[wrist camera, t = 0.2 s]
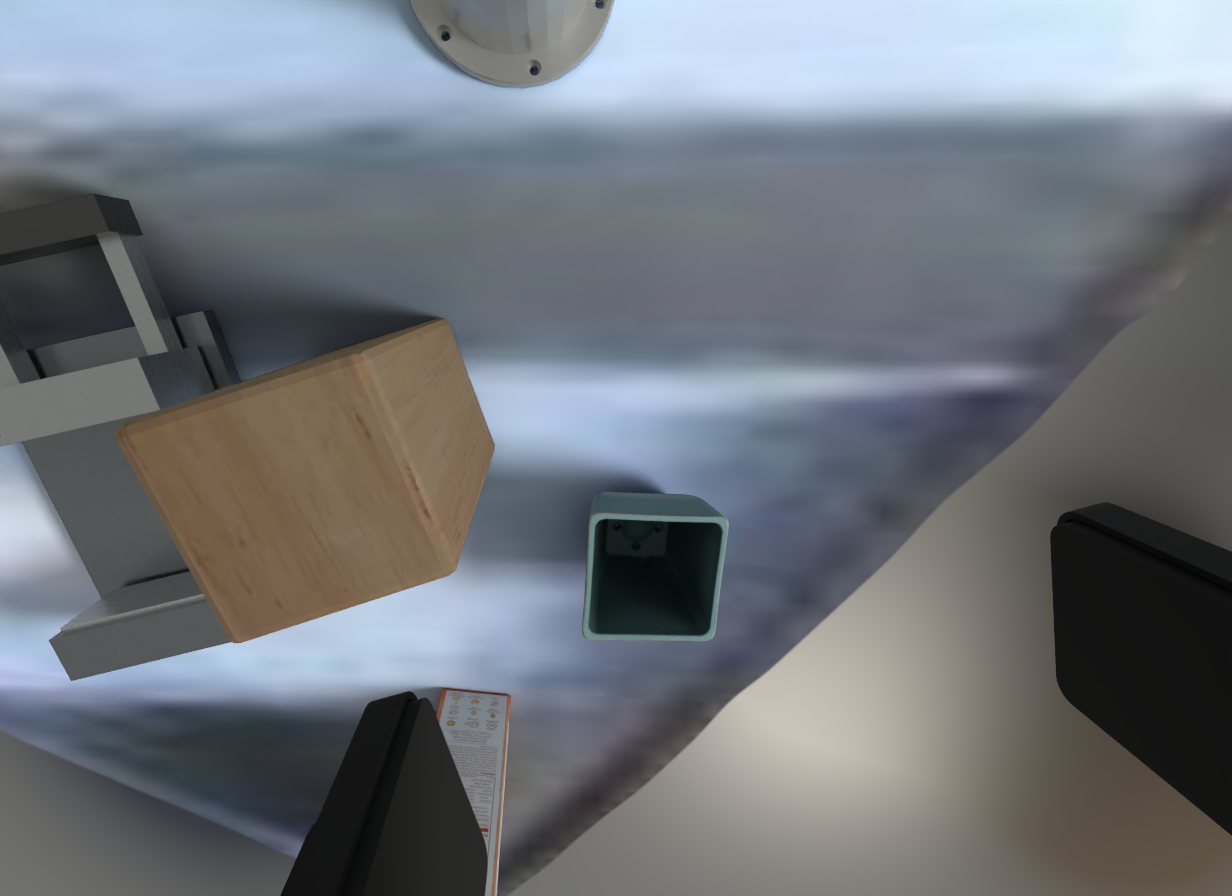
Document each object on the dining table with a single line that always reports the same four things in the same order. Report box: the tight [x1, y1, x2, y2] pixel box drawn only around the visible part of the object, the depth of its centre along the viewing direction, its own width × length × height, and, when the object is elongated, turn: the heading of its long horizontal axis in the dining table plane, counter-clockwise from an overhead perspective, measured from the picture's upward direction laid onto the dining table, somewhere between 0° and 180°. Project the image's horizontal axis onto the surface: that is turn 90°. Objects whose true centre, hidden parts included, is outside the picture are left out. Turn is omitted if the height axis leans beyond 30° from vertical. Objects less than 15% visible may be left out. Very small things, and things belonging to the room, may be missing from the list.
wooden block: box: [115, 318, 495, 643], centre depth 34 cm, size 10×10×20 cm
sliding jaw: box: [0, 194, 215, 446], centre depth 36 cm, size 12×12×6 cm
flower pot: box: [582, 491, 729, 641], centre depth 44 cm, size 9×9×9 cm
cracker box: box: [436, 689, 511, 896], centre depth 42 cm, size 14×6×21 cm, turn 168°
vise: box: [22, 310, 241, 681], centre depth 40 cm, size 20×14×7 cm
